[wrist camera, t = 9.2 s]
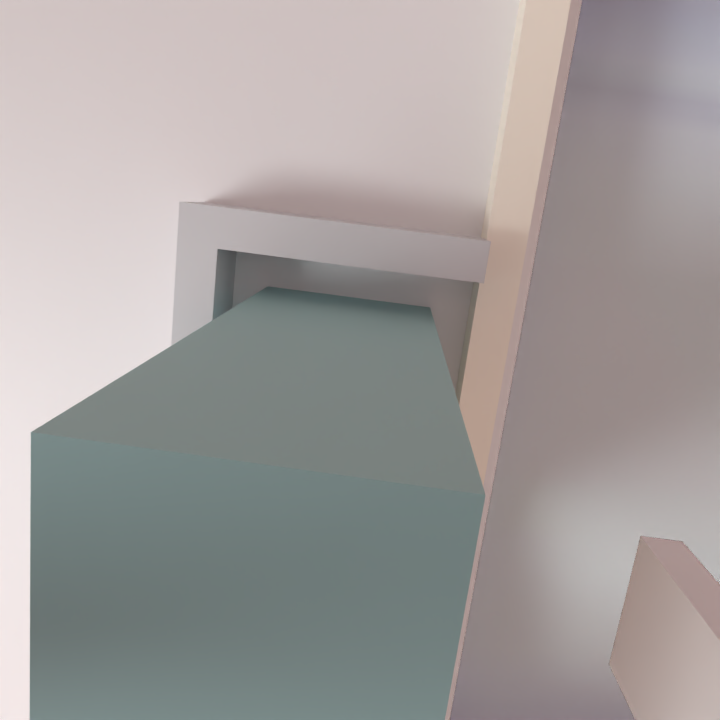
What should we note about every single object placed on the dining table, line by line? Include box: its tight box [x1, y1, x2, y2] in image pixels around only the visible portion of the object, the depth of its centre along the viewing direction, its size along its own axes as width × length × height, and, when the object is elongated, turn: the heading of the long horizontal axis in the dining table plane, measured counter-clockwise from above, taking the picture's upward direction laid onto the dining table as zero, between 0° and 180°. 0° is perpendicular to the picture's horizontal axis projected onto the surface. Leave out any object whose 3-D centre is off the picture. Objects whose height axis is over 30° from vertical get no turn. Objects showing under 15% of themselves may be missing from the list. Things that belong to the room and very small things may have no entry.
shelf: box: [0, 0, 582, 720], centre depth 19 cm, size 16×36×4 cm, turn 173°
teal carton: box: [30, 286, 485, 720], centre depth 13 cm, size 5×8×12 cm, turn 173°
